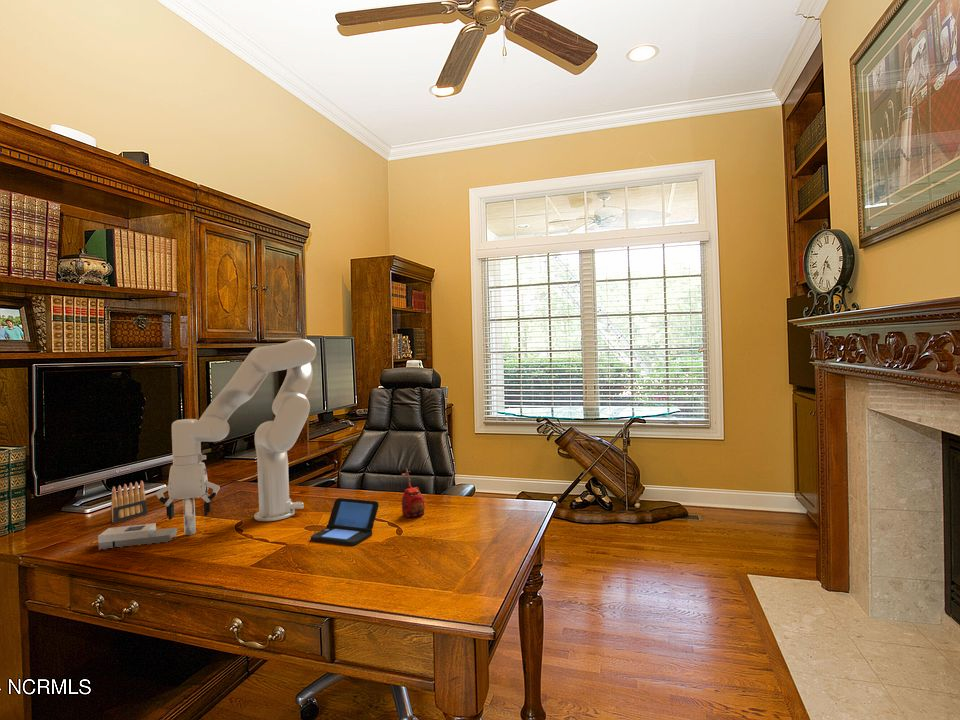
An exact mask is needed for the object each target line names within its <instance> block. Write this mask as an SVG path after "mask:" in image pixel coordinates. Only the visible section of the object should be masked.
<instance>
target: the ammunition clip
mask: <svg viewBox="0 0 960 720" xmlns="http://www.w3.org/2000/svg"><path fill="white" fill-rule="evenodd" d="M116 490H117V491H116ZM147 506H148V505H147V499H146V492H145V483H144V481H143V480H140V483H138V482H137V481H135V483H134V488H133V483H132V482H129V486H127V484H126V483H124V484H123V489H122V486H121V485H120V484H119V485H118V487H117V489H116V486H114V485H113V486H112V490H111V507H110V523H113V524H117V523H120V521H121V522H124V521H123V520H125V521H127V519H128V520H131V519H130V518H132V519H134V518H133V517H136V518H139V517H142V516H141V515H143V516H146V515H145V514H147V515H148V507H147ZM138 516H139V517H138Z"/></svg>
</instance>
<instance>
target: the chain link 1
mask: <svg viewBox="0 0 960 720" xmlns="http://www.w3.org/2000/svg"><path fill="white" fill-rule="evenodd" d="M156 524H157V523H156V522H154V523H146V524H137V525H128V526H127V525H125V526H115V527H108V528H107V529H105V530H104V531H103V532H101V533H100V534H98V535H97V537H98V538H97V541H98V550H99V551H100V550H101V549H103V550H108V549H107V548H112V549H114V548H115V547H114V546H115V541H120V540H129V539H138V538H148V537H149V536H150V535H151V534H152V533H153V532H154V531H155V530H157V525H156ZM113 547H114V548H113Z"/></svg>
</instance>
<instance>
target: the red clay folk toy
mask: <svg viewBox="0 0 960 720" xmlns="http://www.w3.org/2000/svg"><path fill="white" fill-rule="evenodd" d="M405 470H406V471H405V472H404V473H401V476H402V477H404V476H406V475H407V478H408V479H407V480H408V487H407V488H405V489H404V492H403V494H402V497H401V512H402V515H403V516H404V517H406V518H408V519H410V518H413V517H417V516H418V517H419V516H423V515H425V507H426V506H425V499H424V495H422V493H421V491H420V489H419V487H418V486H415V487H412V485H411V478H410V474H409V473H411V470H409V471H408V468H407V467H406V468H405Z"/></svg>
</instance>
